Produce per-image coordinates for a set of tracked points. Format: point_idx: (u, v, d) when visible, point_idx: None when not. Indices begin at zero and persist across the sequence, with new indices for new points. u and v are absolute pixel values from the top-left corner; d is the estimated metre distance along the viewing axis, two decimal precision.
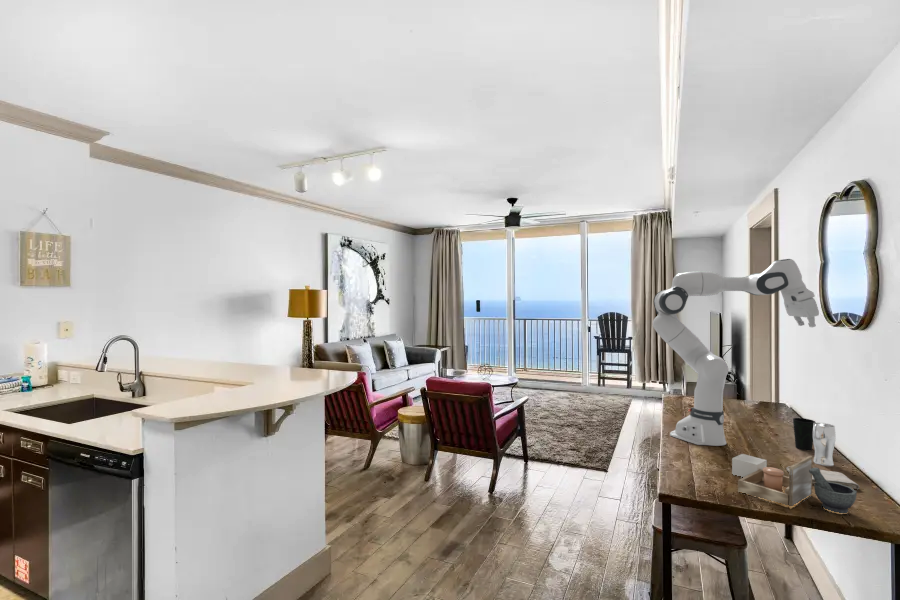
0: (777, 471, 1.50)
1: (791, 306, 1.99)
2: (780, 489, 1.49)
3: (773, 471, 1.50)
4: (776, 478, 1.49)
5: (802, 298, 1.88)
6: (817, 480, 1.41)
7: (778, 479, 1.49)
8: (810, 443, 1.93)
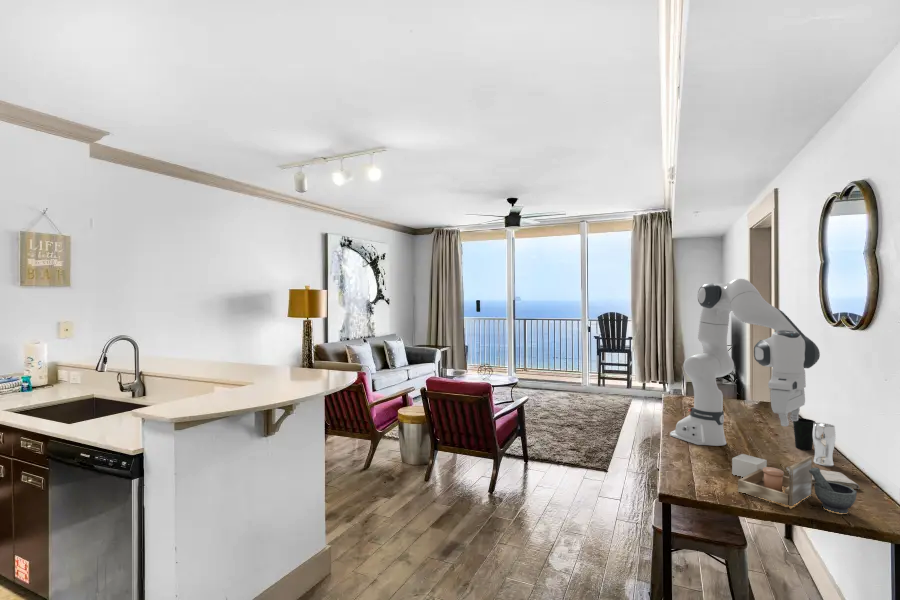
0: (777, 471, 1.50)
1: None
2: (780, 489, 1.49)
3: (773, 471, 1.50)
4: (776, 478, 1.49)
5: (774, 386, 1.47)
6: (817, 480, 1.41)
7: (778, 479, 1.49)
8: (810, 443, 1.93)
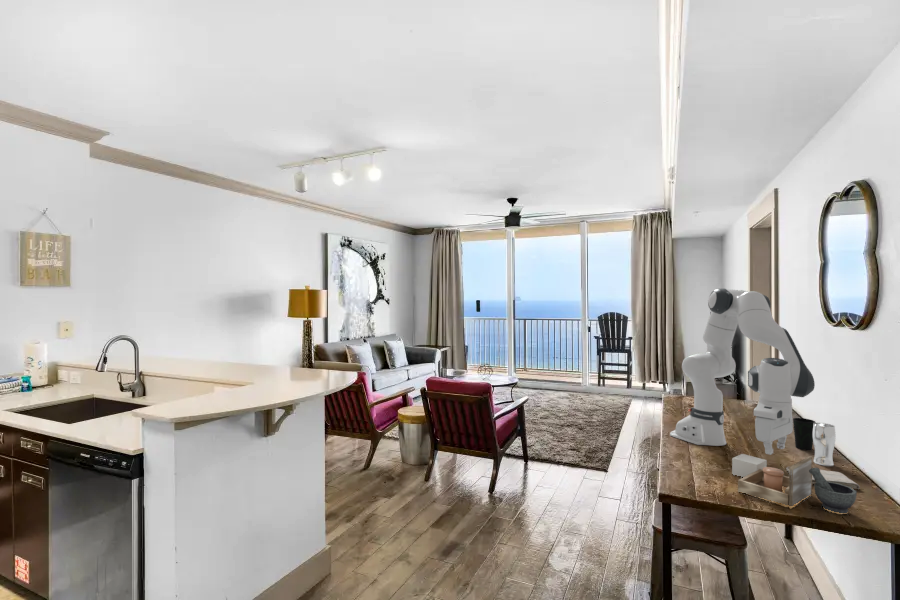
0: (777, 471, 1.50)
1: None
2: (780, 489, 1.49)
3: (773, 471, 1.50)
4: (776, 478, 1.49)
5: (759, 414, 1.47)
6: (817, 480, 1.41)
7: (778, 479, 1.49)
8: (810, 443, 1.93)
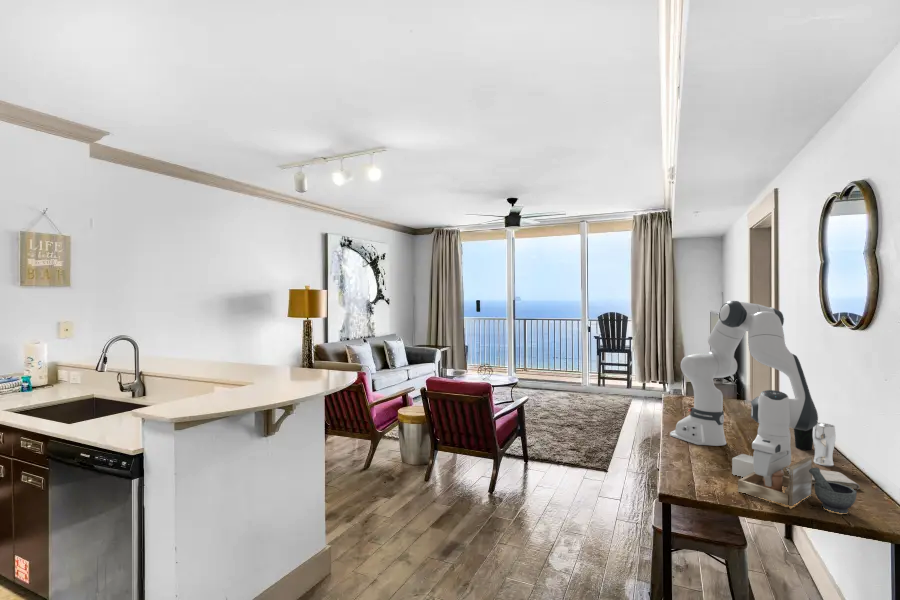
0: (777, 471, 1.50)
1: None
2: (780, 489, 1.49)
3: None
4: (776, 478, 1.49)
5: (757, 448, 1.47)
6: (817, 480, 1.41)
7: (779, 479, 1.49)
8: (810, 443, 1.93)
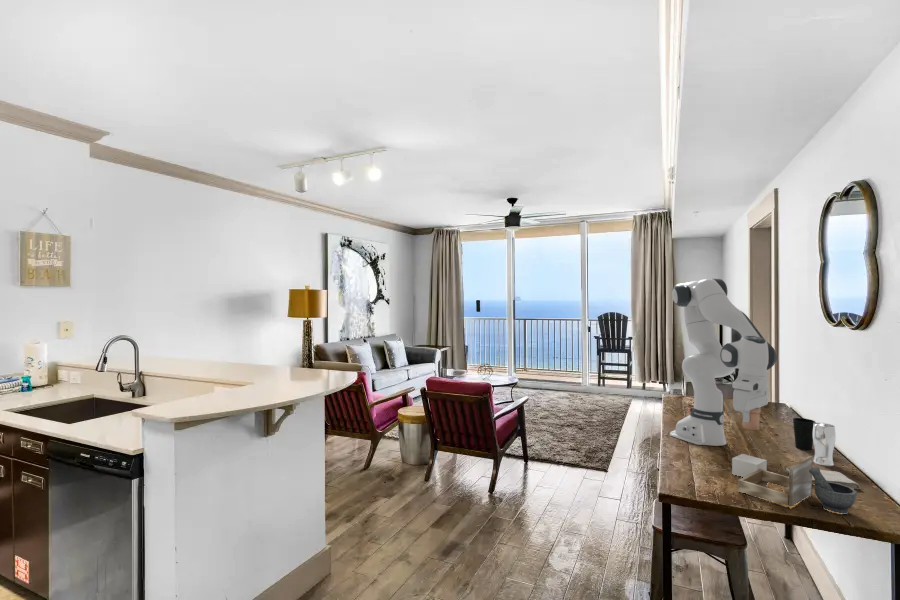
0: (755, 409, 1.64)
1: None
2: (757, 425, 1.63)
3: None
4: (754, 414, 1.63)
5: (737, 386, 1.61)
6: (817, 480, 1.41)
7: (756, 416, 1.63)
8: (810, 443, 1.93)
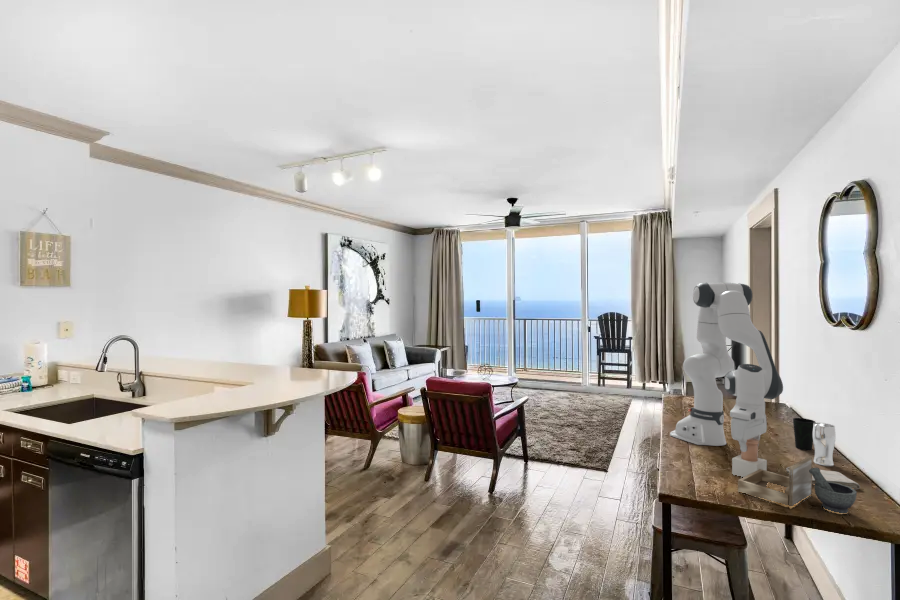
0: (753, 440, 1.65)
1: None
2: (755, 456, 1.64)
3: (749, 440, 1.65)
4: (752, 446, 1.64)
5: (734, 415, 1.62)
6: (817, 480, 1.41)
7: (754, 447, 1.63)
8: (810, 443, 1.93)
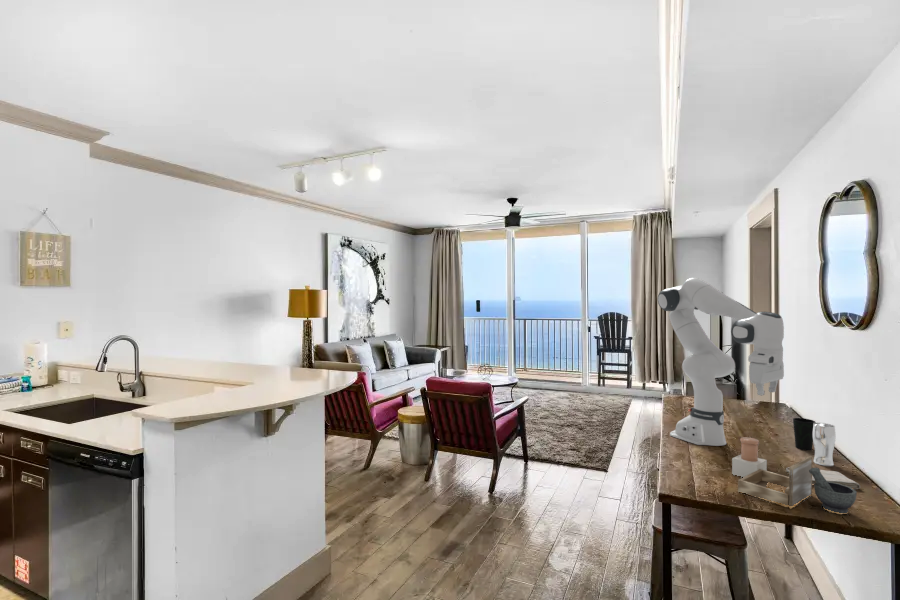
0: (753, 440, 1.65)
1: None
2: (755, 456, 1.64)
3: (749, 440, 1.65)
4: (752, 446, 1.64)
5: (752, 360, 1.66)
6: (817, 480, 1.41)
7: (754, 447, 1.63)
8: (810, 443, 1.93)
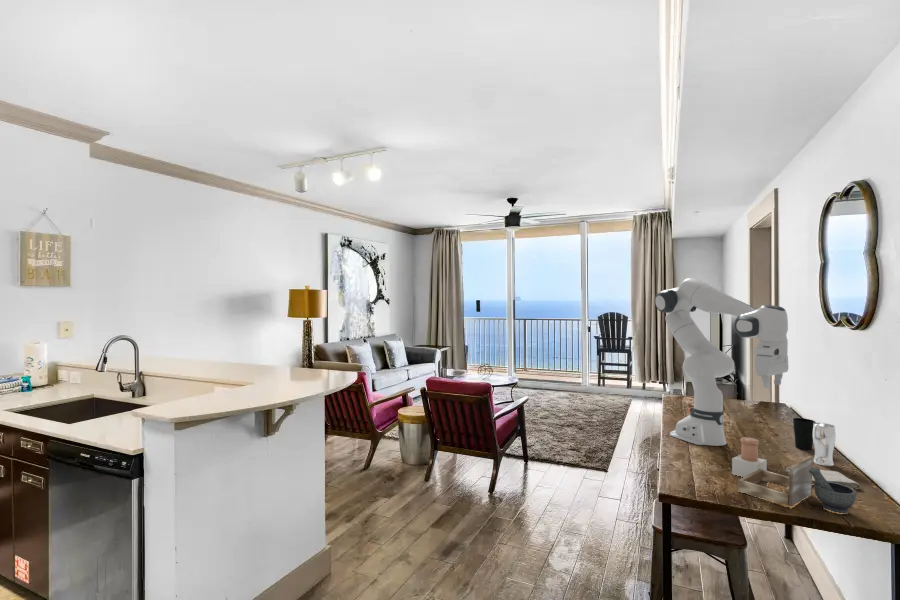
0: (753, 440, 1.65)
1: None
2: (755, 456, 1.64)
3: (749, 440, 1.65)
4: (752, 446, 1.64)
5: (758, 352, 1.68)
6: (817, 480, 1.41)
7: (754, 447, 1.63)
8: (810, 443, 1.93)
